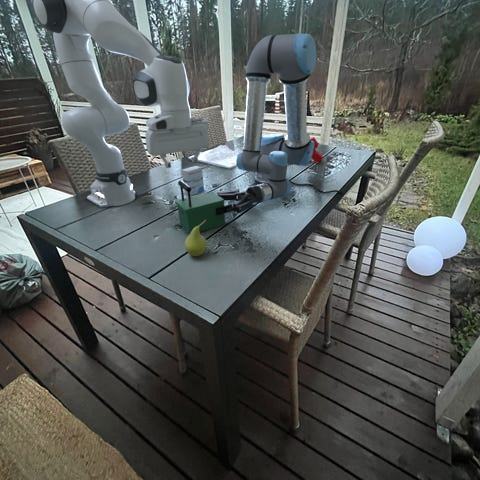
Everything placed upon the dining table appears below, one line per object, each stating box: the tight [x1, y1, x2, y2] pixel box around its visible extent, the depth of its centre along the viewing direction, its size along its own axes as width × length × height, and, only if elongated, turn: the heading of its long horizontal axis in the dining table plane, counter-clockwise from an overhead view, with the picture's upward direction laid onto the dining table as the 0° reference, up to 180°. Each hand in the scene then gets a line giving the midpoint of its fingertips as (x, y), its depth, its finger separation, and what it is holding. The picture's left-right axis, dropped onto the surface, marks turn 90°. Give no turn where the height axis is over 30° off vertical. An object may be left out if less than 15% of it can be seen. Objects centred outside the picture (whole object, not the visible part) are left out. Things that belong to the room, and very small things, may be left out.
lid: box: [174, 179, 225, 213], centre depth 98 cm, size 16×9×9 cm, turn 123°
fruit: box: [184, 219, 208, 257], centre depth 85 cm, size 7×8×12 cm
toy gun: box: [310, 136, 324, 165], centre depth 169 cm, size 18×4×15 cm
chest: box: [176, 202, 226, 236], centre depth 103 cm, size 15×9×9 cm, turn 122°
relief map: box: [188, 144, 243, 170], centre depth 178 cm, size 27×35×5 cm
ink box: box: [181, 165, 205, 197], centre depth 128 cm, size 8×5×12 cm, turn 134°
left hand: (182, 164), depth 90 cm, fingers open, 8 cm apart
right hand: (210, 206), depth 103 cm, fingers closed on chest, 9 cm apart
